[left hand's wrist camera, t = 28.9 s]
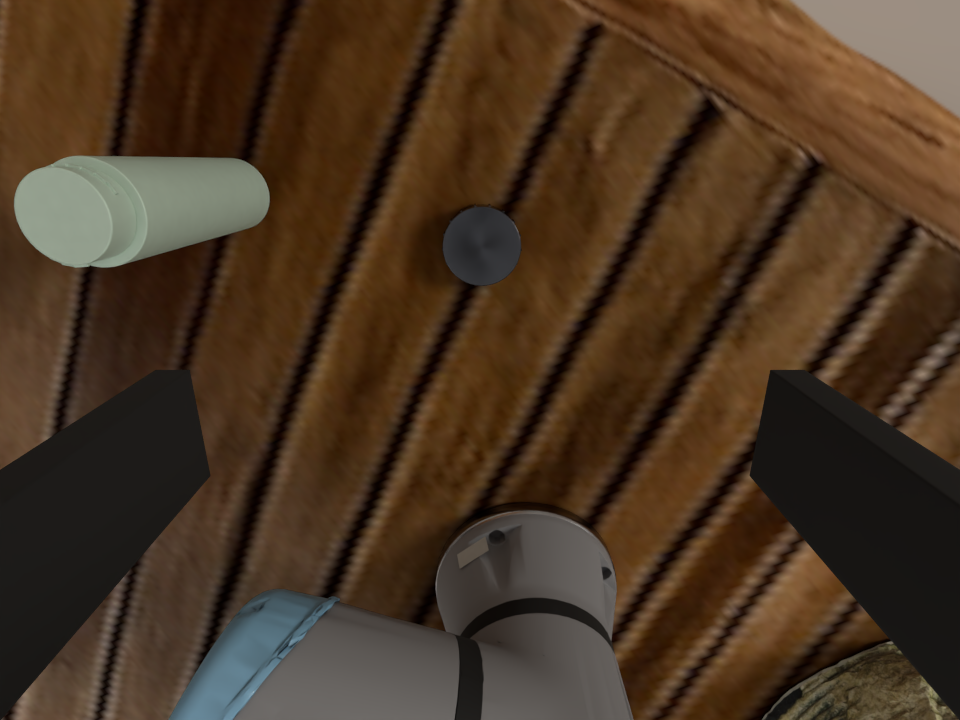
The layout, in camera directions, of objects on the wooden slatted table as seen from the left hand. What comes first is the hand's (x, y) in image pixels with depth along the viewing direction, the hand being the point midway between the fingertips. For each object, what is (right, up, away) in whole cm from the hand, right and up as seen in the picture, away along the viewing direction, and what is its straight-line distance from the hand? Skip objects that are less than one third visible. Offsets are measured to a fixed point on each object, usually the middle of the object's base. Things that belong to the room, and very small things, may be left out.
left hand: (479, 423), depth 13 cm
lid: (0, +9, +24) cm, 25 cm away
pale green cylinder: (-16, +13, +24) cm, 32 cm away
